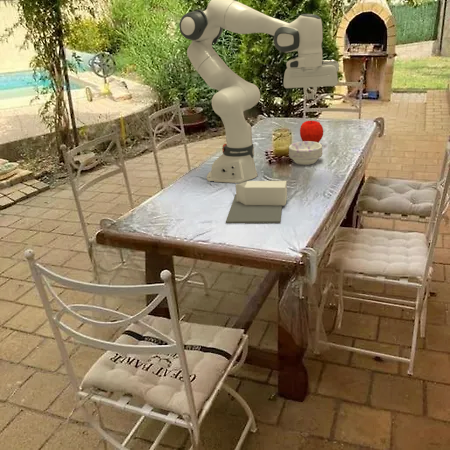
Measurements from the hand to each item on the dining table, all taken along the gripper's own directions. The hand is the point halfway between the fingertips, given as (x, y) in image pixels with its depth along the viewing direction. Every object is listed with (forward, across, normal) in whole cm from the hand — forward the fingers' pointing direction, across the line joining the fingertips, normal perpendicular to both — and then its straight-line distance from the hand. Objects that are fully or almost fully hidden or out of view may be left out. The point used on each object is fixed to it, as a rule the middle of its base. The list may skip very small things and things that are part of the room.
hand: (310, 98), depth 184 cm
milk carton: (+30, +9, +23) cm, 38 cm away
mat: (+34, +20, +27) cm, 48 cm away
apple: (+34, -1, -53) cm, 63 cm away
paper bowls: (+34, +2, -28) cm, 44 cm away
